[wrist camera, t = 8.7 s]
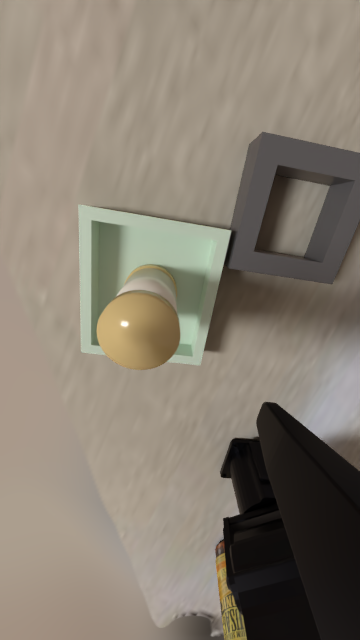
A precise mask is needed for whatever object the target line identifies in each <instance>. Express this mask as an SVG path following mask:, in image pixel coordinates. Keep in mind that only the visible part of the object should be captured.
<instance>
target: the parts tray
mask: <svg viewBox="0 0 360 640" xmlns="http://www.w3.org/2000/svg"><path fill="white" fill-rule="evenodd" d="M230 234H231V230H226V229H221V228H215V227H210V226H204V225H198V224H192V223H186V222H180V221H175V220H169V219H163V218H157V217H151V216H145V215H140V214H134V213H128V212H122V211H116V210H110V209H105V208H99V207H93V206H86V205H79V263H80V323H81V352H82V353H91V354H101V355H106V354H105V353H104V351H103V350H102V348H101V347H100V345H99V342H98V339H97V323H98V320H99V317H100V315H101V314H102V312H103V311H104V309H105V308H106V307H107V305H108V304H109V303H110V302H111V300H113V299H114V298H115V297H116V296H117V294H118V293H119V291H120V290H121V288H122V287H123V286H124V283H125V281H126V279H127V277H128V276H129V275H130V273H131V272H132V271H133V270H134V269H136V268H137V267H139V266H142V265H146V264H155V265H159V266H161V267H163V268H165V269H166V270H168V271H169V272H170V273H171V275H172V276H173V277H174V279H175V282H176V286H177V299H176V303H177V315H178V318H179V322H180V342H179V346H178V348H177V350H176V352H175V354H174V355H173V356H172V357H171V358H170V359H169V360H168V361H167V362H173V363H182V364H191V365H200V364H201V360H202V356H203V351H204V347H205V343H206V338H207V334H208V330H209V325H210V321H211V317H212V312H213V308H214V304H215V299H216V295H217V291H218V286H219V282H220V278H221V273H222V269H223V265H224V260H225V256H226V252H227V247H228V243H229V239H230Z"/></svg>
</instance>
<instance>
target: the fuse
mask: <svg viewBox="0 0 360 640" xmlns="http://www.w3.org/2000/svg"><path fill="white" fill-rule="evenodd" d="M176 299H177V286H176V282H175V279H174V277H173V276H172V275H171V273H170V272H169V271H168V270H166V269H165V268H163V267H161V266H159V265H155V264H146V265H142V266H139V267H137V268H136V269H134V270H133V271H132V272H131V273H130V275H129V276H128V277H127V279H126V281H125V283H124V286H123V287H122V288H121V290H120V291H119V293H118V294H117V296H116V297H115V298H114V299H113V300H111V302H110V303H109V304H108V305H107V307H106V308H105V309H104V311H103V312H102V314H101V315H100V317H99V320H98V323H97V339H98V342H99V345H100V347H101V348H102V350H103V351H104V353H105V354H106V355H107V356H108V357H109V358H110V359H111V360H112V361H114V362H115V363H117V364H119V365H121V366H123V367H126V368H130V369H135V370H146V369H152V368H155V367H158V366H160V365H162V364H164V363H165V362H167V361H168V360H169V359H170V358H171V357H172V356H173V355H174V354H175V352H176V350H177V348H178V346H179V342H180V322H179V318H178V315H177V303H176Z"/></svg>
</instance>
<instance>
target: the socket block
mask: <svg viewBox="0 0 360 640" xmlns="http://www.w3.org/2000/svg"><path fill="white" fill-rule="evenodd" d="M275 175H280V176H285V177H290V178H295V179H300V180H305V181H310V182H315V183H320V184H325V185H330V188H329V191H328V193H327V196H326V199H325V202H324V204H323V207H322V210H321V213H320V215H319V218H318V221H317V223H316V226H315V229H314V232H313V234H312V237H311V240H310V243H309V245H308V248H307V251H306V254H305V256H304V257H298V256H292V255H286V254H280V253H274V252H268V251H262V250H256V249H255V245H256V242H257V238H258V234H259V231H260V227H261V223H262V220H263V216H264V213H265V209H266V205H267V202H268V198H269V195H270V191H271V187H272V184H273V180H274V176H275ZM359 221H360V153H357V152H353V151H348V150H344V149H339V148H334V147H330V146H325V145H321V144H316V143H312V142H307V141H302V140H298V139H293V138H289V137H284V136H279V135H275V134H270V133H266V132H262V133H261V134H260V135H259V136H258V137H257V138H256V139H255V140H253V141H252V142H251V143H250V144H249V148H248V152H247V157H246V161H245V165H244V170H243V174H242V179H241V183H240V187H239V192H238V196H237V201H236V205H235V209H234V214H233V218H232V223H231V227H230V230H231V234H230V239H229V243H228V247H227V252H226V256H225V260H224V264H225V265H226V266H227V267H228V268H230V269H236V270H242V271H249V272H255V273H262V274H268V275H275V276H281V277H288V278H294V279H301V280H307V281H314V282H320V283H327V284H333V281H334V279H335V277H336V274H337V272H338V270H339V268H340V265H341V263H342V261H343V258H344V256H345V254H346V251H347V249H348V247H349V244H350V242H351V240H352V237H353V235H354V233H355V230H356V228H357V226H358V224H359Z"/></svg>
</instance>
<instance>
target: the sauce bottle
mask: <svg viewBox="0 0 360 640" xmlns="http://www.w3.org/2000/svg"><path fill="white" fill-rule="evenodd" d="M216 569H217V578H218V587H219V596H220V604H221V613H222V622H223V631H224V640H247V637H246V631H245V625H244V620H243V615H241V614H240V612H239V610H238V608H237V606H236V603H235V601H234V597H233V594H232V592H231V591H230V590H229V589H228V587H227V584H226V562H225V548H224V540H223V541H221V542H220V543H219V544H218V545H217V546H216Z"/></svg>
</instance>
